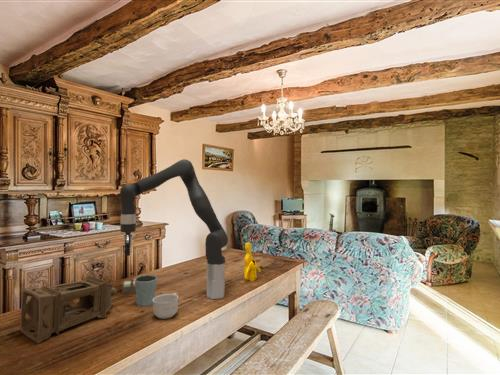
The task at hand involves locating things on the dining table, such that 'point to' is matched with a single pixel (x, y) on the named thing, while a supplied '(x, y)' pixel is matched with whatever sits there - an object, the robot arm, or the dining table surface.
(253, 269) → the figure statuette
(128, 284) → the sage key
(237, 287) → the dining table surface
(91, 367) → the dining table surface
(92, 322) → the dining table surface
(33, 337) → the brown lantern
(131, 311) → the dining table surface
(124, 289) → the key console
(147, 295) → the grey-green tumbler
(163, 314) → the teacup
